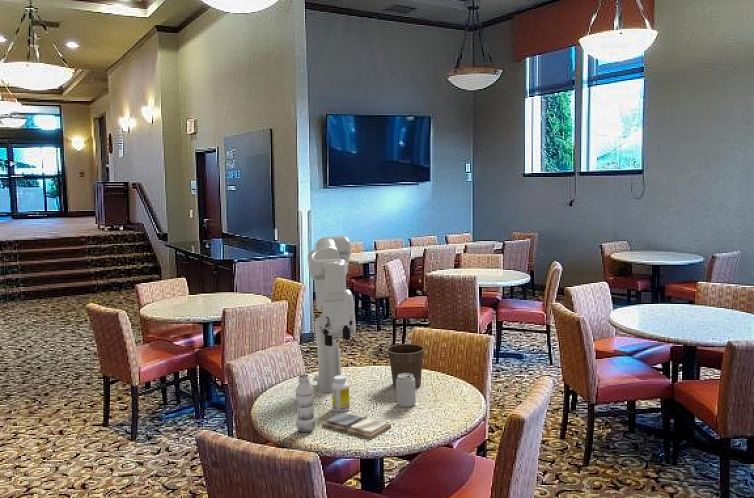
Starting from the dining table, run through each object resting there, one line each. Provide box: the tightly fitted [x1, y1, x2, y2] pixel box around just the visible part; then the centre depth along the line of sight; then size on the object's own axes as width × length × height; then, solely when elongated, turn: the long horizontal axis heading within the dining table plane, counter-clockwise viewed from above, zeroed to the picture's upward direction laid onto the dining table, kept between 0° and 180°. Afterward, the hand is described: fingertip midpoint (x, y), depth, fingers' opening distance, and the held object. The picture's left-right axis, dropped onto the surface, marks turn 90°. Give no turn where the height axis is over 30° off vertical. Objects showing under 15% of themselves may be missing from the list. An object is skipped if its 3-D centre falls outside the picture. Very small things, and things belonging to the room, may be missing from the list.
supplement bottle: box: [331, 374, 351, 413], centre depth 240 cm, size 7×7×13 cm
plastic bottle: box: [294, 374, 316, 433], centre depth 219 cm, size 6×7×20 cm
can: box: [395, 373, 417, 408], centre depth 242 cm, size 8×8×12 cm
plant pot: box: [386, 343, 425, 389], centre depth 266 cm, size 16×16×16 cm
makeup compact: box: [321, 411, 392, 440], centre depth 222 cm, size 22×12×2 cm, turn 54°
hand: (337, 342), depth 224 cm, fingers open, 9 cm apart
